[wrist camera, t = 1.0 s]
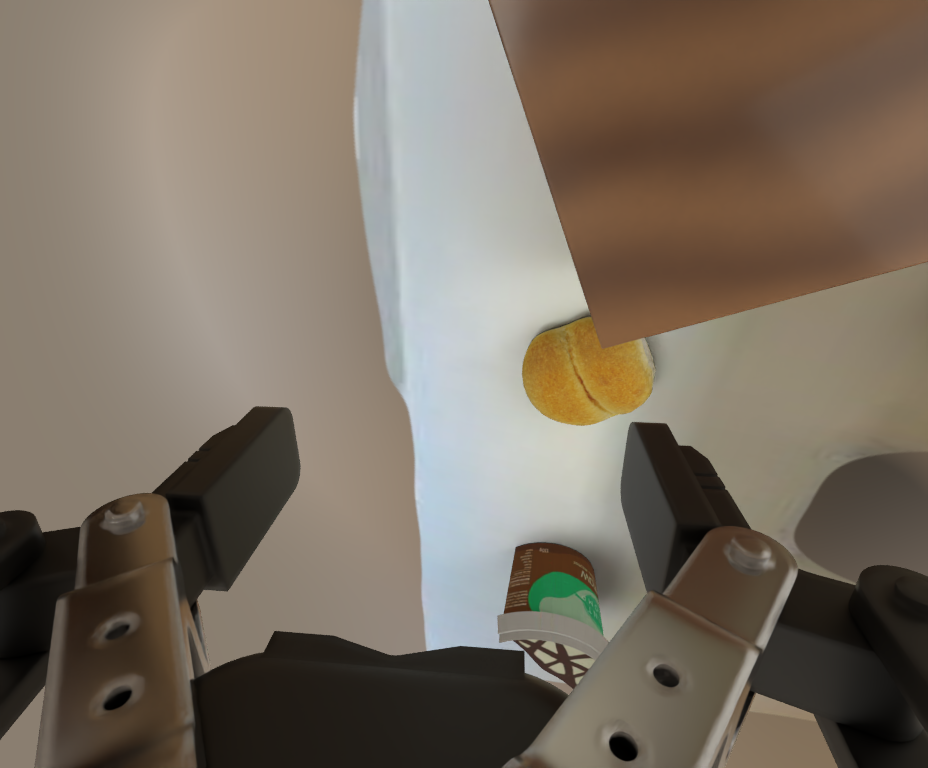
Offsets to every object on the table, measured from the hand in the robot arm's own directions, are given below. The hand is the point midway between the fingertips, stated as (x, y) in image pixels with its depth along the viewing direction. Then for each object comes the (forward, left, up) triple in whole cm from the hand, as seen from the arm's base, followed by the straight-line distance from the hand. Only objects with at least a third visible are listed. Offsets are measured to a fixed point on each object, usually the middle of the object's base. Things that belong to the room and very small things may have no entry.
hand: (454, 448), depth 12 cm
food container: (+35, -8, -23) cm, 43 cm away
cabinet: (-2, +9, -23) cm, 25 cm away
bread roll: (+13, 0, -23) cm, 27 cm away
